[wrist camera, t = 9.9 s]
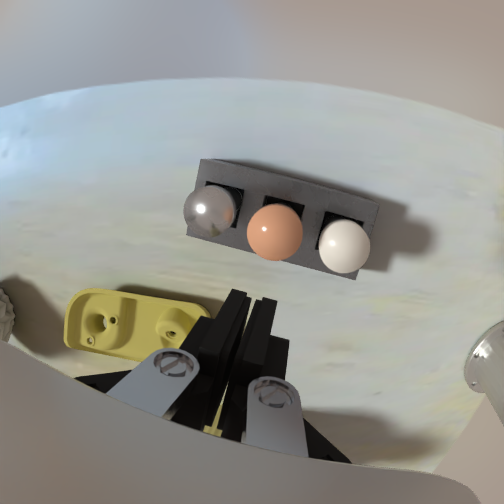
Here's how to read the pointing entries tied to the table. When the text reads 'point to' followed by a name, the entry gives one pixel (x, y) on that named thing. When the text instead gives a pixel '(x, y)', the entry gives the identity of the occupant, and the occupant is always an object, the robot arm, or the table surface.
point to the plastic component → (127, 323)
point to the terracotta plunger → (275, 231)
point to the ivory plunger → (343, 245)
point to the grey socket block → (286, 188)
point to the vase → (5, 317)
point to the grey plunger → (211, 209)
